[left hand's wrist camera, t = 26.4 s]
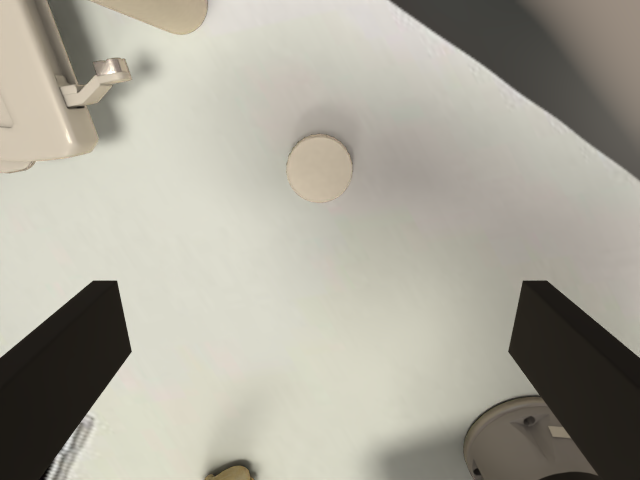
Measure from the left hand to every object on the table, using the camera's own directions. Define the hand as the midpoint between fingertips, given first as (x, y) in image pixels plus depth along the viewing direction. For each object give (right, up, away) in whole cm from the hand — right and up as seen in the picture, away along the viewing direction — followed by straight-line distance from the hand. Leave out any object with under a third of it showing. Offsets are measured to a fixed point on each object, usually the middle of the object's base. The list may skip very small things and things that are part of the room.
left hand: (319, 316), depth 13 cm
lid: (0, +9, +23) cm, 24 cm away
